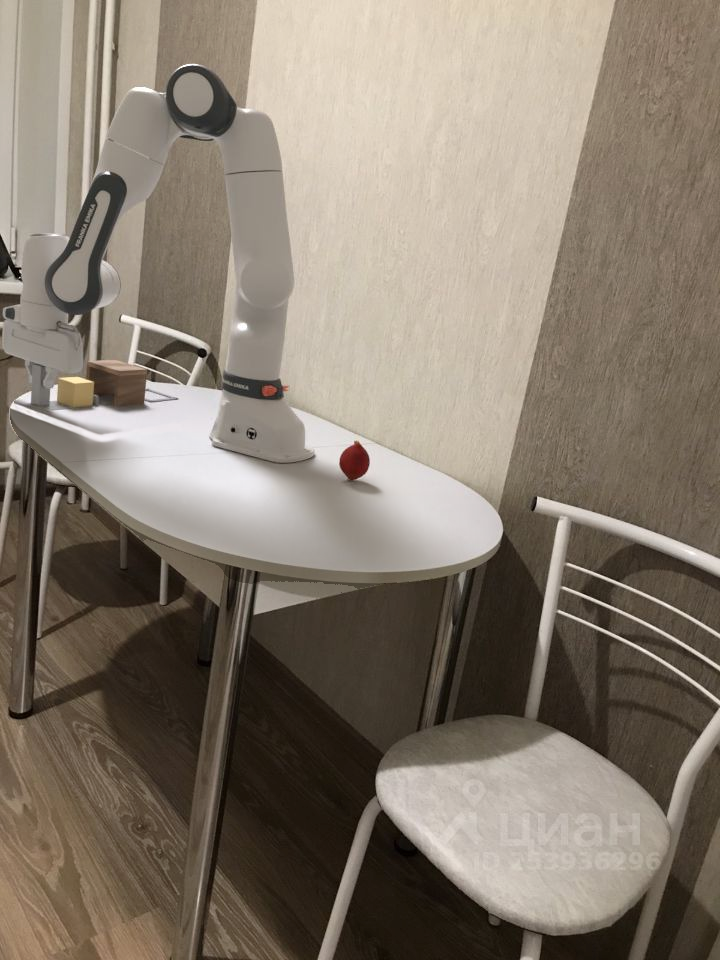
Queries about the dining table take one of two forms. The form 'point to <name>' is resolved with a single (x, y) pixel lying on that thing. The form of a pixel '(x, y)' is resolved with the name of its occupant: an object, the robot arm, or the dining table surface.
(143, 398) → the brown wooden box
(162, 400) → the thin grey frame
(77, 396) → the block
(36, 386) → the grey angled piece
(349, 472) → the onion
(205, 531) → the dining table surface
